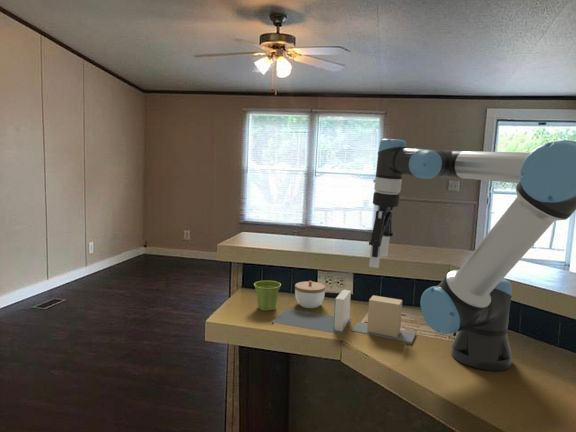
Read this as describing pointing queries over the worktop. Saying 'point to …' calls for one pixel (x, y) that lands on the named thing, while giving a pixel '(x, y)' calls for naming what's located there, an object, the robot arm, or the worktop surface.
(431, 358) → the worktop surface
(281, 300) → the worktop surface
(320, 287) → the lidded jar
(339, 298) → the tile
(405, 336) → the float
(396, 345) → the worktop surface
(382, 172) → the robot arm
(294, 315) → the mat
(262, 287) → the plant pot
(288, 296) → the worktop surface
